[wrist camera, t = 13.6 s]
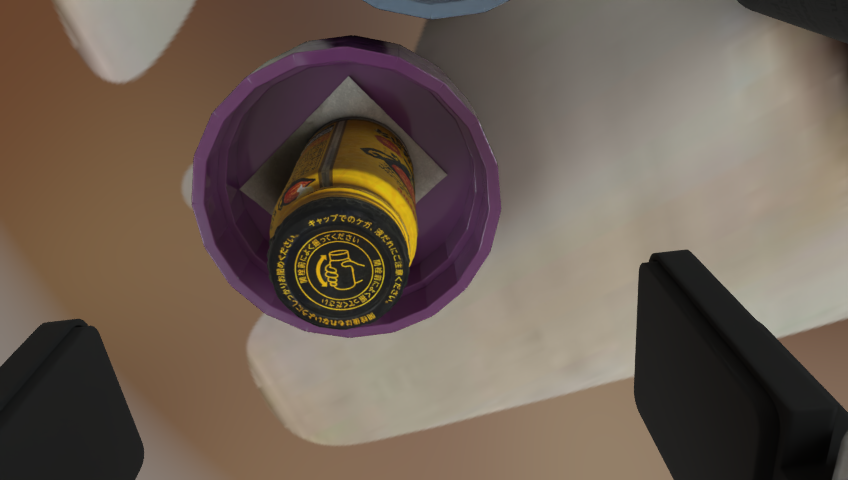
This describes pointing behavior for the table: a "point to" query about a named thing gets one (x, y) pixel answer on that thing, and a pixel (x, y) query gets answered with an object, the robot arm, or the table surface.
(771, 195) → the table surface
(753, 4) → the drinking cup
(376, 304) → the condiment
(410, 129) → the plum bowl
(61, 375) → the robot arm
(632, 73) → the table surface
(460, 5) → the slate bowl
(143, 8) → the table surface
